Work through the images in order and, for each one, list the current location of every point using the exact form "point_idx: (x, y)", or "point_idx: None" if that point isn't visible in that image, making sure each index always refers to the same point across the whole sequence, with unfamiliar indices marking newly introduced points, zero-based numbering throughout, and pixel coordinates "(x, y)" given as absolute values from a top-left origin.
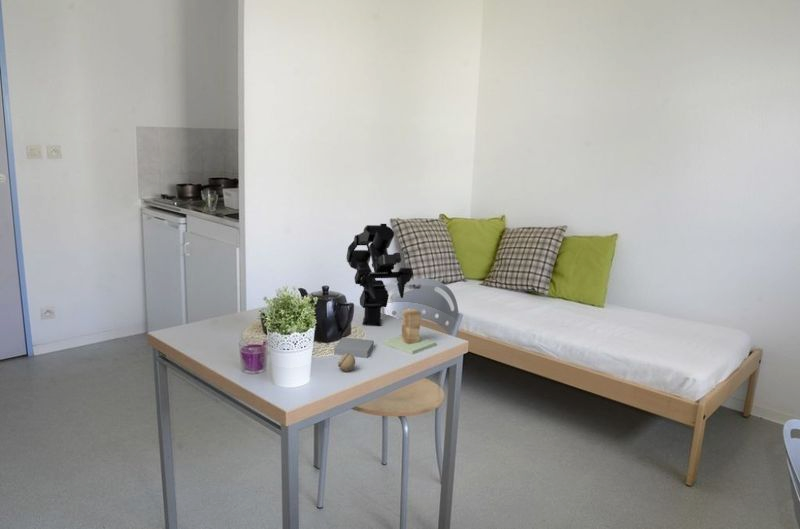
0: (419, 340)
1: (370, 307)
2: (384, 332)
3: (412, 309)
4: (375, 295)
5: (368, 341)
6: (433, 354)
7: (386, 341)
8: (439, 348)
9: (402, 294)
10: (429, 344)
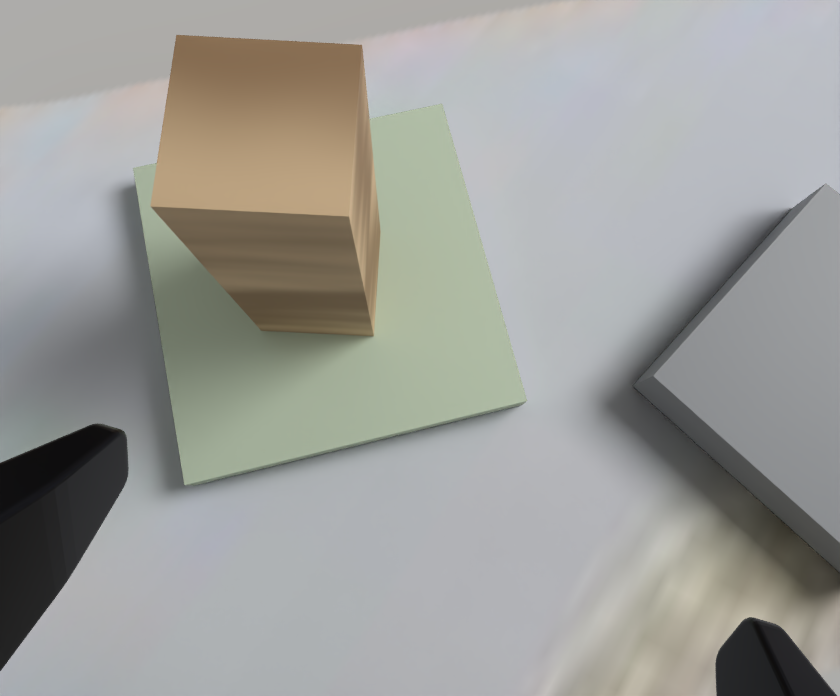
0: None
1: None
2: (328, 678)
3: (183, 193)
4: (778, 661)
5: (709, 377)
6: None
7: (508, 375)
8: None
9: (74, 449)
10: None
